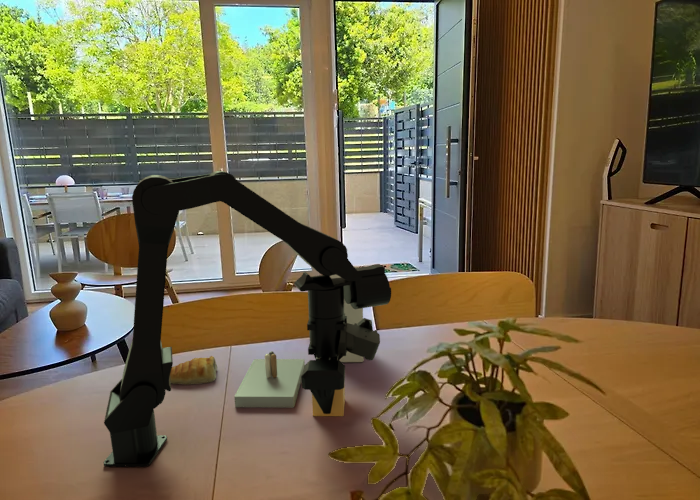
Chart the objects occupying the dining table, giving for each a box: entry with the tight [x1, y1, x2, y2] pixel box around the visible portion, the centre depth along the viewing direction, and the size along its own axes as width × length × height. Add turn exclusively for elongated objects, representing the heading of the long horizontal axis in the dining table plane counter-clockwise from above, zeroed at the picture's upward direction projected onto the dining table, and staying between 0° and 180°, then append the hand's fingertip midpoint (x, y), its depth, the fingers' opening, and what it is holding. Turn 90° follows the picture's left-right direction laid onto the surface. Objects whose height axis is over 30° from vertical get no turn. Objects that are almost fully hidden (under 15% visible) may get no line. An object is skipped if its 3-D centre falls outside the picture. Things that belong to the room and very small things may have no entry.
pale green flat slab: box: [234, 351, 306, 408], centre depth 84 cm, size 14×10×7 cm
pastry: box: [170, 355, 218, 386], centre depth 88 cm, size 9×7×4 cm
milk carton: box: [330, 274, 364, 363], centre depth 95 cm, size 7×7×19 cm
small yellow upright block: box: [311, 384, 346, 417], centre depth 77 cm, size 5×5×6 cm
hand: (329, 400), depth 77 cm, fingers open, 7 cm apart
